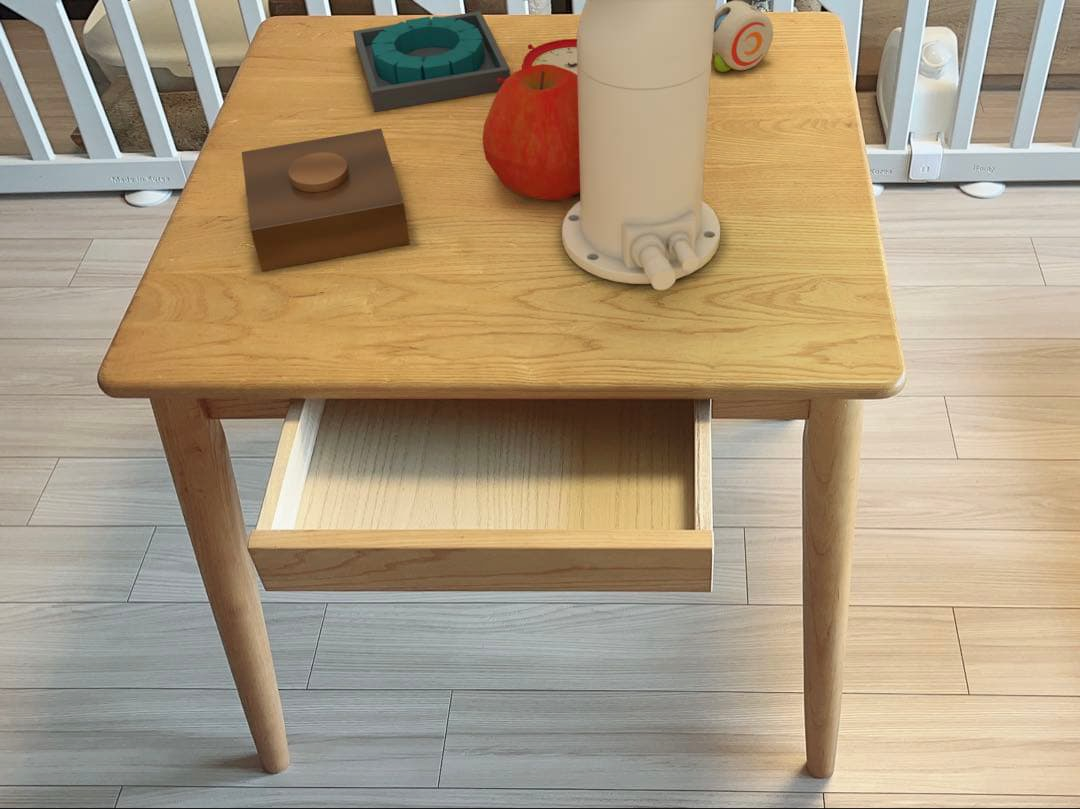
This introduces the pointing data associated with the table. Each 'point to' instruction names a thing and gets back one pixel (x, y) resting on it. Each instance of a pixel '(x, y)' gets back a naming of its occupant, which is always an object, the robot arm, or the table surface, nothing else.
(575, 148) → the apple
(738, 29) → the roller toy
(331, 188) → the platform
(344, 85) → the table surface
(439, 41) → the ring
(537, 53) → the alarm clock
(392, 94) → the tray
